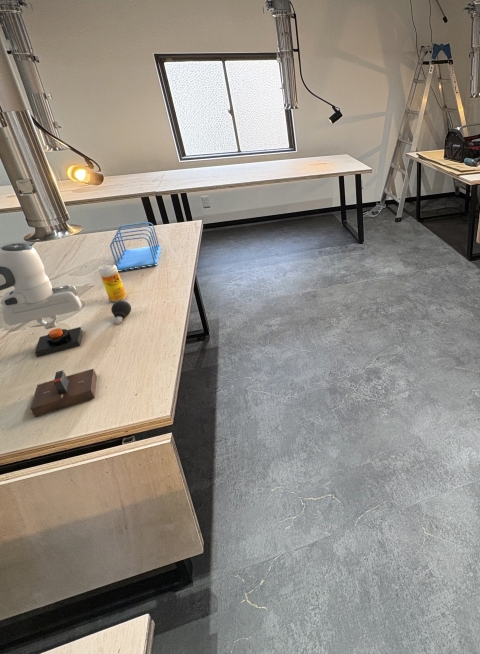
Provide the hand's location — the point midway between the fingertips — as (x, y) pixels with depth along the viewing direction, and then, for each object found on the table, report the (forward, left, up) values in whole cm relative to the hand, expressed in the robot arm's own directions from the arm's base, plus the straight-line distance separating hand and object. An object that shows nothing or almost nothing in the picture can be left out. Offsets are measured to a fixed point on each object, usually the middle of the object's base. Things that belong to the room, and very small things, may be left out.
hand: (51, 327), depth 139 cm
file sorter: (+26, +66, -7) cm, 72 cm away
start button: (0, 0, -4) cm, 4 cm away
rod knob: (+5, -32, -4) cm, 32 cm away
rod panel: (+5, -32, -7) cm, 33 cm away
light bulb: (+19, +8, -8) cm, 22 cm away
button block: (0, 0, -7) cm, 7 cm away
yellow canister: (+17, +26, -7) cm, 32 cm away
